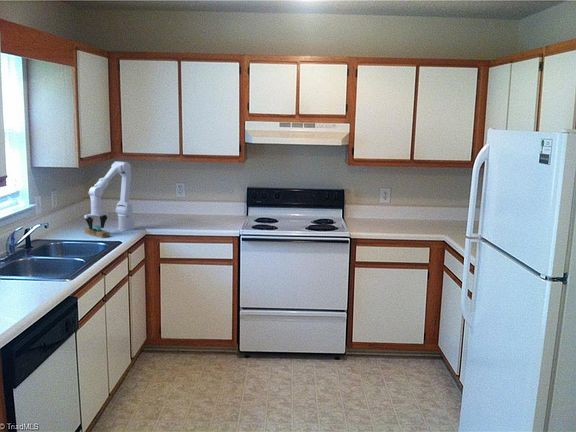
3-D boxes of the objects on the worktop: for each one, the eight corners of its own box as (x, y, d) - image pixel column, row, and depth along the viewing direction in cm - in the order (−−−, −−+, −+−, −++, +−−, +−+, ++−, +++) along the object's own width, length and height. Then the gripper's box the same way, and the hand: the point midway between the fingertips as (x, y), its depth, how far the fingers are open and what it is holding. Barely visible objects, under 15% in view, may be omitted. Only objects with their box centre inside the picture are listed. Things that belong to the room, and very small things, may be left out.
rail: (91, 231, 326) (91, 227, 326) (109, 236, 314) (109, 232, 314) (84, 233, 323) (84, 228, 322) (102, 238, 310) (102, 233, 310)
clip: (92, 234, 320) (92, 224, 319) (95, 233, 321) (95, 224, 320) (98, 236, 316) (98, 226, 315) (101, 235, 317) (101, 225, 316)
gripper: (88, 208, 307) (89, 231, 310) (110, 206, 318) (110, 228, 321) (82, 207, 312) (82, 229, 314) (104, 204, 323) (104, 226, 325)
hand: (96, 228), depth 318 cm, fingers open, 7 cm apart
